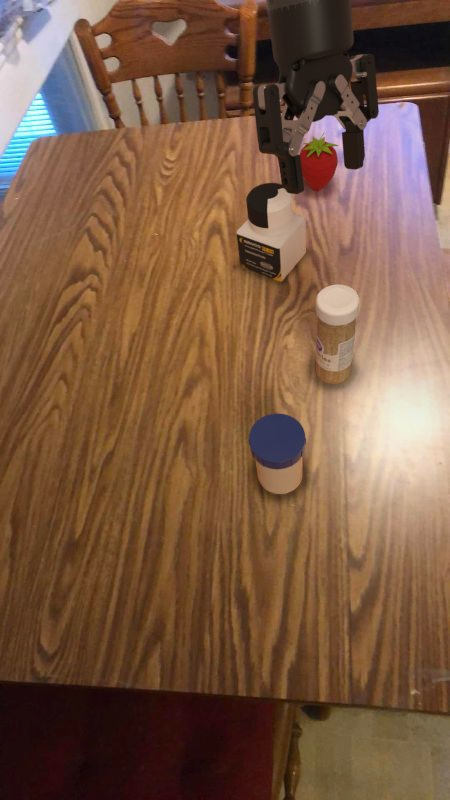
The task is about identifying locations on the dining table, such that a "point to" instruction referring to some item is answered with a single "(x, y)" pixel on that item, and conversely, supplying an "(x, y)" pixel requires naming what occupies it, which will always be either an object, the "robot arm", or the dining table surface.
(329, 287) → the sprinkles bottle
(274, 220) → the medicine bottle
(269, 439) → the jar lid
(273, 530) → the dining table surface
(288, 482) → the jar
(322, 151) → the strawberry
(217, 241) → the dining table surface
